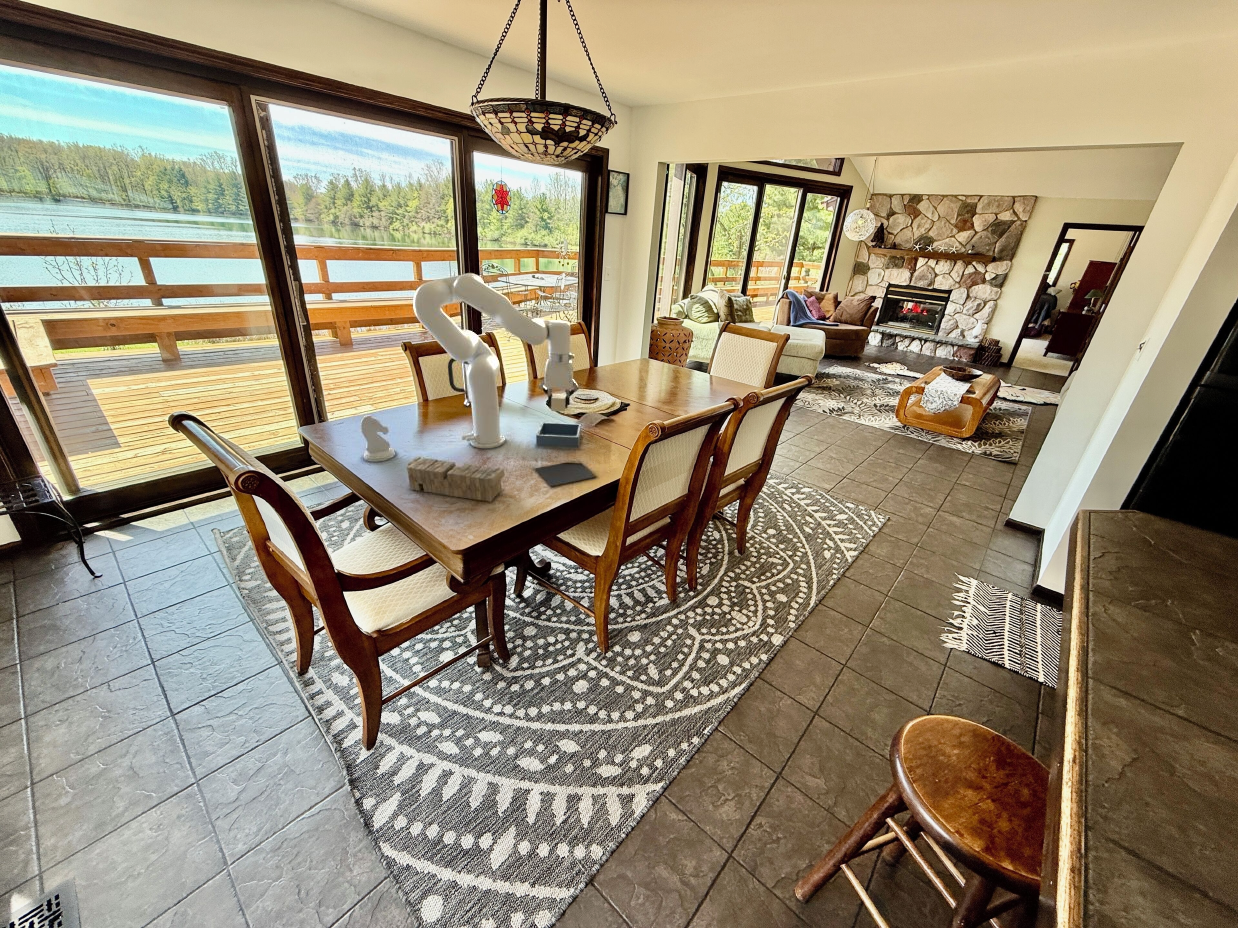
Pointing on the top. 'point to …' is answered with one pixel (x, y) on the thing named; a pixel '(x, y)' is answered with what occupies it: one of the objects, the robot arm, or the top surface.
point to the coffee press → (466, 386)
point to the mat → (565, 473)
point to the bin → (558, 435)
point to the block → (558, 402)
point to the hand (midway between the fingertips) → (558, 405)
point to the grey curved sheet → (592, 418)
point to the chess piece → (375, 440)
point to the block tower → (455, 478)
